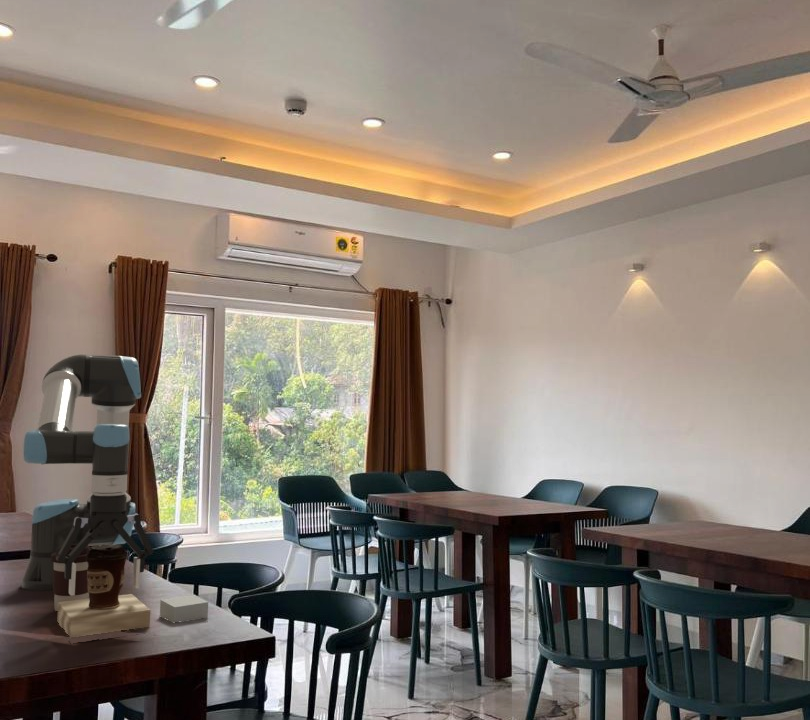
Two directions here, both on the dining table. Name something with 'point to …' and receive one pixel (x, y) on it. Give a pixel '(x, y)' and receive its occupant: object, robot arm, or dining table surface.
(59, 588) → the coffee cup
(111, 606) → the coffee cup
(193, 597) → the grey block
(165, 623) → the dining table surface
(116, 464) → the robot arm
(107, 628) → the beech block
